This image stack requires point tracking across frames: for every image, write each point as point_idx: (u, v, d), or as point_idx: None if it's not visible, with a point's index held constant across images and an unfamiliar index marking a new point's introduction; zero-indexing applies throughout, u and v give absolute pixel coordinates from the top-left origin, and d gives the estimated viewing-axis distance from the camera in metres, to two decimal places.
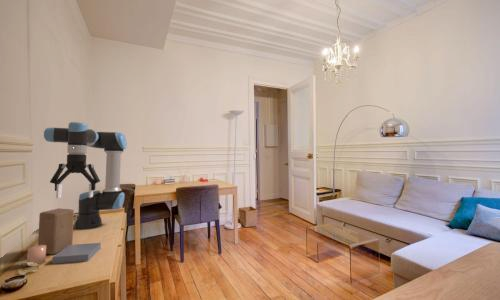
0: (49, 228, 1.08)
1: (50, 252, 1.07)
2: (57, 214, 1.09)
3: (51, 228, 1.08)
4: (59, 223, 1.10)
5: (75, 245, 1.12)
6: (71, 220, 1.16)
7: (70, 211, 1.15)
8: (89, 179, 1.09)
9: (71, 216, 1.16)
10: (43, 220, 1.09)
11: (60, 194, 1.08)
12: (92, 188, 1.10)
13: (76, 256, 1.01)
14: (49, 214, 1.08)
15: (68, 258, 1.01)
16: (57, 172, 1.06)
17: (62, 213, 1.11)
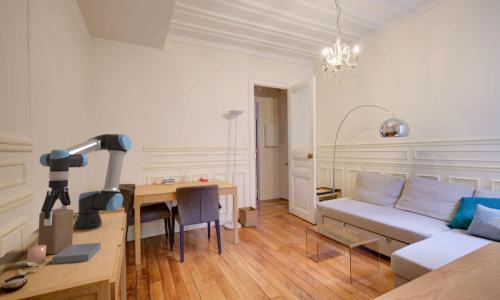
0: (49, 228, 1.08)
1: (50, 252, 1.07)
2: (57, 214, 1.09)
3: (51, 228, 1.08)
4: (59, 223, 1.10)
5: (75, 245, 1.12)
6: (71, 220, 1.16)
7: (70, 211, 1.15)
8: None
9: (71, 216, 1.16)
10: (43, 220, 1.09)
11: None
12: None
13: (76, 256, 1.01)
14: None
15: (68, 258, 1.01)
16: None
17: (62, 213, 1.11)
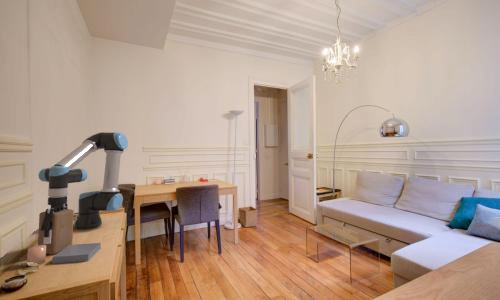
0: None
1: (50, 252, 1.07)
2: (57, 214, 1.09)
3: (51, 228, 1.08)
4: (59, 223, 1.10)
5: (75, 245, 1.12)
6: (71, 220, 1.16)
7: (70, 211, 1.15)
8: None
9: (71, 216, 1.16)
10: None
11: None
12: None
13: (76, 256, 1.01)
14: None
15: (68, 258, 1.01)
16: None
17: (62, 213, 1.11)
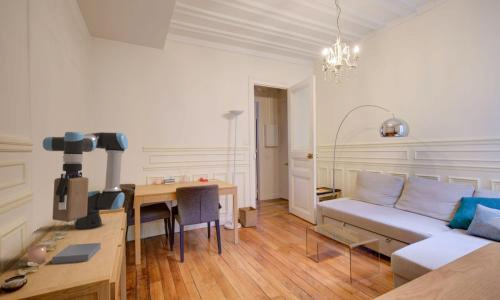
0: None
1: (65, 219, 1.04)
2: (72, 180, 1.06)
3: (66, 194, 1.04)
4: (74, 189, 1.07)
5: (75, 245, 1.12)
6: (86, 188, 1.12)
7: (85, 179, 1.12)
8: None
9: (86, 184, 1.12)
10: None
11: None
12: None
13: (76, 256, 1.01)
14: None
15: (68, 258, 1.01)
16: None
17: (77, 180, 1.08)
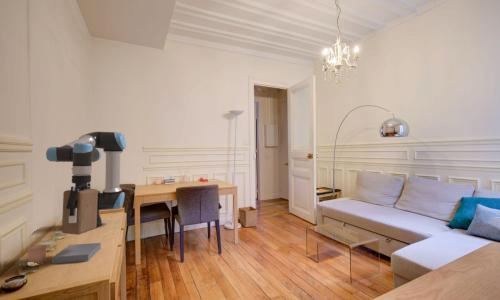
0: None
1: (75, 232, 1.02)
2: (82, 192, 1.04)
3: (76, 207, 1.03)
4: (84, 202, 1.05)
5: (75, 245, 1.12)
6: (95, 200, 1.11)
7: (94, 190, 1.10)
8: None
9: (95, 196, 1.11)
10: (67, 199, 1.04)
11: None
12: None
13: (76, 256, 1.01)
14: None
15: (68, 258, 1.01)
16: None
17: (87, 192, 1.06)
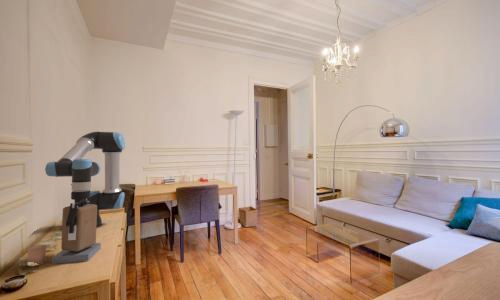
0: None
1: (75, 249, 1.02)
2: (81, 209, 1.04)
3: (76, 224, 1.03)
4: (84, 219, 1.05)
5: None
6: (95, 215, 1.11)
7: (94, 206, 1.10)
8: None
9: (95, 211, 1.11)
10: (67, 216, 1.04)
11: None
12: None
13: (76, 256, 1.01)
14: None
15: (68, 258, 1.01)
16: None
17: (86, 208, 1.06)
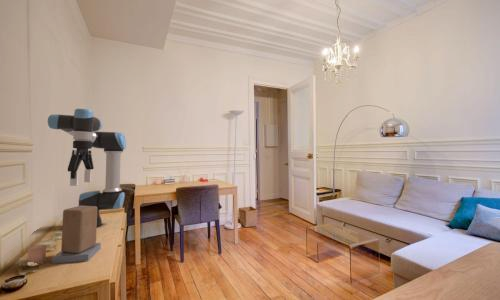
0: (74, 225, 1.03)
1: (76, 251, 1.02)
2: (83, 211, 1.04)
3: (77, 226, 1.03)
4: (85, 220, 1.05)
5: None
6: (95, 217, 1.11)
7: (94, 208, 1.10)
8: None
9: (95, 213, 1.11)
10: (67, 218, 1.04)
11: (88, 179, 1.16)
12: None
13: (76, 256, 1.01)
14: (74, 211, 1.03)
15: (68, 258, 1.01)
16: None
17: (87, 210, 1.06)
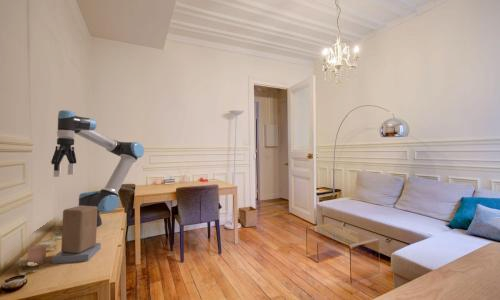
0: (74, 225, 1.03)
1: (76, 251, 1.02)
2: (83, 211, 1.04)
3: (77, 226, 1.03)
4: (85, 220, 1.05)
5: None
6: (95, 217, 1.11)
7: (94, 208, 1.10)
8: None
9: (95, 213, 1.11)
10: (67, 218, 1.04)
11: (71, 172, 1.32)
12: None
13: (76, 256, 1.01)
14: (74, 211, 1.03)
15: (68, 258, 1.01)
16: None
17: (87, 210, 1.06)
